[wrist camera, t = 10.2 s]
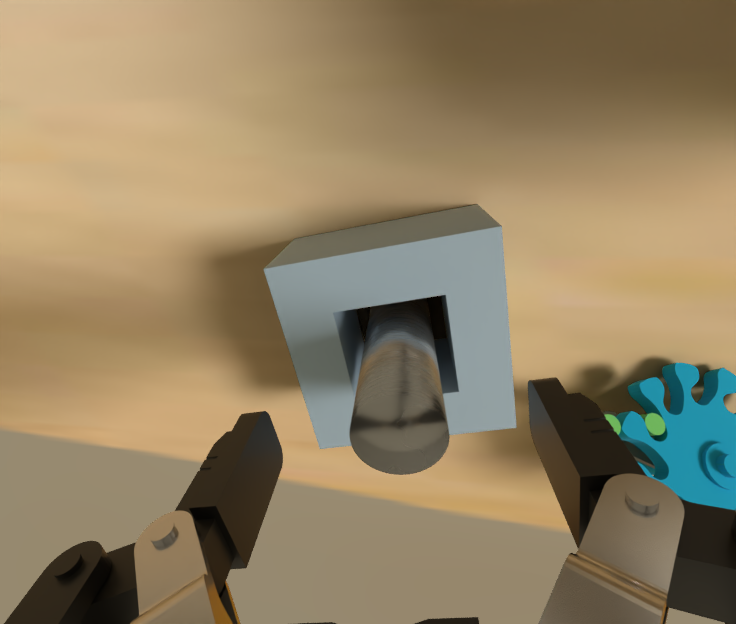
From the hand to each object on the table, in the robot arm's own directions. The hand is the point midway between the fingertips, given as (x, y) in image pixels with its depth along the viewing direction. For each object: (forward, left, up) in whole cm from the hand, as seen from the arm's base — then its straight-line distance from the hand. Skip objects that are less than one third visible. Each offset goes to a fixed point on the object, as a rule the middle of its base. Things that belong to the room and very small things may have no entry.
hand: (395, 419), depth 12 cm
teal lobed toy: (+9, +13, -10) cm, 19 cm away
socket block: (0, 0, -10) cm, 10 cm away
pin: (0, 0, -10) cm, 10 cm away
